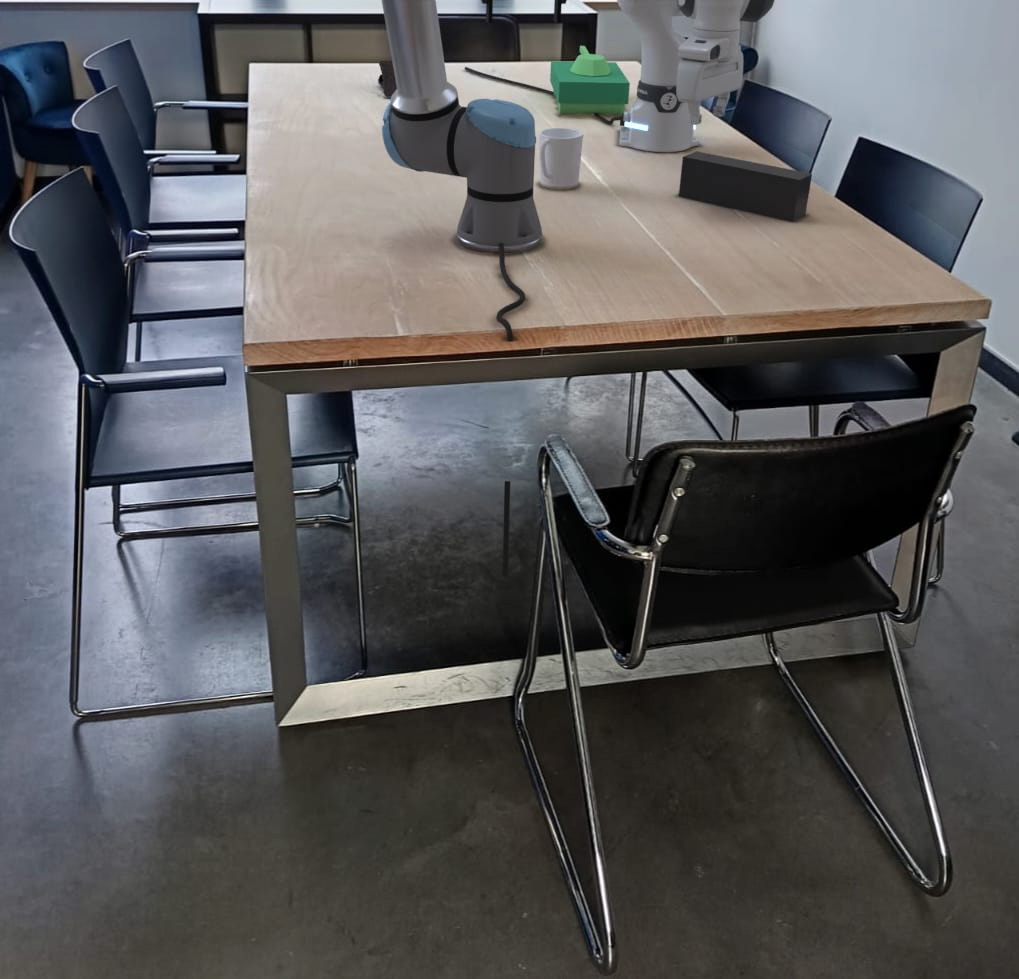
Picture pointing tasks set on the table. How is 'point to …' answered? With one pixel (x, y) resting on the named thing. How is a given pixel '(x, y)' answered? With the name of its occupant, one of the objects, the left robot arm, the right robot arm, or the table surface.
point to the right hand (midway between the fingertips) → (707, 120)
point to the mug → (560, 157)
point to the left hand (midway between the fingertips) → (523, 22)
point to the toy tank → (589, 85)
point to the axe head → (387, 78)
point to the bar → (745, 185)
